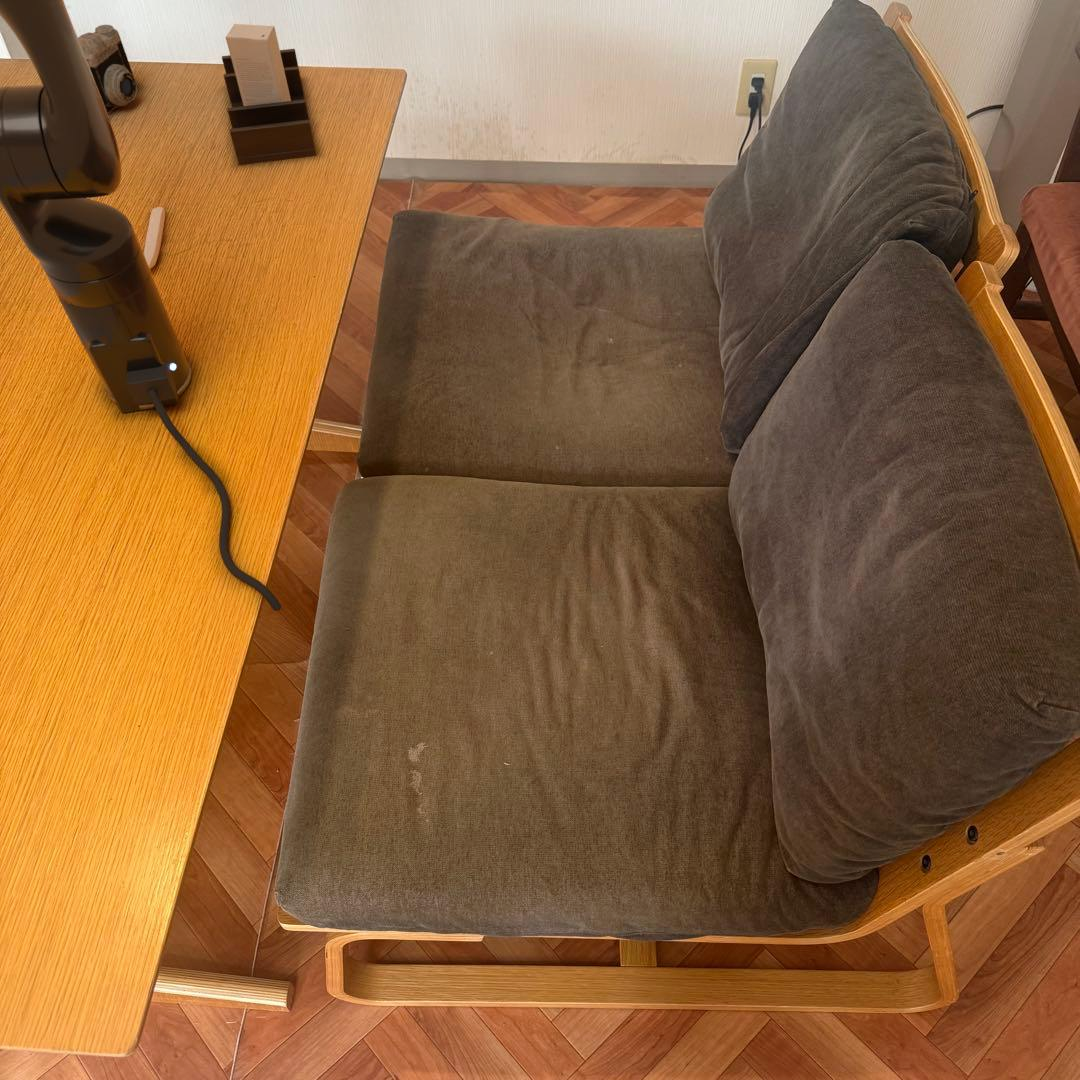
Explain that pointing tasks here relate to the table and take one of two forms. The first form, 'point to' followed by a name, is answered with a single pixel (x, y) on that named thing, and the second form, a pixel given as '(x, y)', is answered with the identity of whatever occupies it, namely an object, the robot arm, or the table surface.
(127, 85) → the camera
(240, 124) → the rack
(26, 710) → the table surface
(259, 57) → the cosmetic box
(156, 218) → the pen
